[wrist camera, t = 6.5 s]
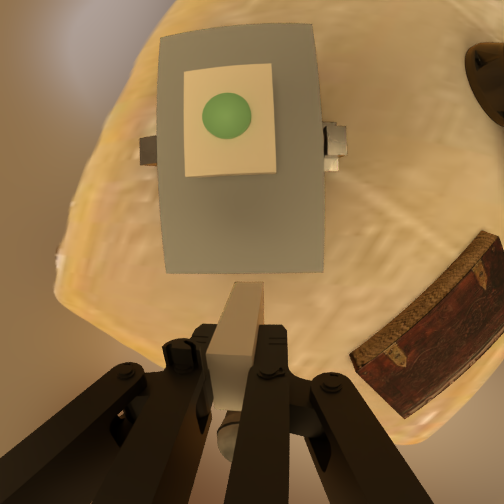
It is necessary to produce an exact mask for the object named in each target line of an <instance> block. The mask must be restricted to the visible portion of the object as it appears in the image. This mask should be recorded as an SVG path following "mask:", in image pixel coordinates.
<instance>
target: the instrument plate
mask: <svg viewBox="0 0 504 504" xmlns="http://www.w3.org/2000/svg"><path fill="white" fill-rule="evenodd" d="M323 146H324V135H323V128H322V112H321V99H320V87H319V76H318V67H317V58H316V49H315V41H314V34H313V27H312V24H302V23H265V24H246V25H234V26H224V27H216V28H209V29H202V30H196V31H190V32H185V33H180V34H175V35H170V36H166V37H161V38H160V48H159V62H158V81H157V170H158V191H159V206H160V219H161V231H162V241H163V251H164V260H165V269H166V273H171V274H258V273H323V270H324V237H325V181H324V148H323Z"/></svg>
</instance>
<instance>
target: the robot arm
mask: <svg viewBox="0 0 504 504" xmlns="http://www.w3.org/2000/svg"><path fill="white" fill-rule="evenodd" d="M465 65H466V72H467V76H468V80H469V83H470V85H471V88H472V90H473V92H474V94H475V96H476V98H477V100H478V102H479V103H480V105H481V106H482V108H483V109H484V111H485V112H486V113H487V114H488V115H489V116H490V118H491V119H493V120H494V121H495V122H496V123H497V124H499V125H501V126H503V127H504V43H493V42H484V43H479V44H477V45H475V46H473V47H471V48H470V49H469V50H468V52H467V54H466V59H465ZM162 349H163V354H164V358H165V362H166V368H165V369H164V371H160V372H151V373H145V372H144V369H143V368H142V366H141V365H139V364H137V363H133V362H126V363H122V364H119V365H117V366H115V367H113V368H112V369H111V370H110V371H108V372H107V373H106V374H105V375H103V376H102V377H101V378H100V379H98V380H97V381H96V382H95V383H93V384H92V385H91V386H90V387H88V388H87V389H86V390H85V391H84V392H82V393H81V394H80V395H79V396H77V397H76V398H75V399H74V400H72V401H71V402H70V403H69V404H67V405H66V406H65V407H64V408H62V409H61V410H60V411H59V412H58V413H56V414H55V415H54V416H52V417H51V418H50V419H49V420H47V421H46V422H45V423H44V424H43V425H41V426H40V427H39V428H37V429H36V430H35V431H34V432H33V433H31V434H30V435H29V436H28V437H26V438H25V439H24V440H22V441H21V442H20V443H19V444H17V445H16V446H15V447H14V448H12V449H11V450H10V451H9V452H7V453H6V454H5V455H4V456H2V457H1V458H0V504H90V503H91V502H92V501H93V502H92V504H188V501H189V498H190V494H191V490H192V487H193V484H194V480H195V477H196V473H197V470H198V466H199V463H200V459H201V456H202V452H203V448H204V445H205V442H206V438H207V434H208V431H209V427H210V423H211V420H212V414H211V406H212V402H214V408H215V409H219V410H232V411H241V416H240V421H239V427H238V432H237V438H236V443H235V448H234V454H233V459H232V464H231V469H230V474H229V480H228V485H227V490H226V495H225V500H224V504H288V498H289V497H288V496H289V440H290V439H289V438H290V437H289V436H290V433H292V434H296V435H300V436H304V439H305V442H306V444H307V447H308V449H309V452H310V454H311V457H312V460H313V462H314V465H315V467H316V470H317V472H318V475H319V477H320V479H321V482H322V484H323V487H324V490H325V492H326V495H327V497H328V499H329V502H330V504H434V503H433V502H432V500H431V498H430V497H429V495H428V494H427V492H426V491H425V489H424V488H423V486H422V485H421V483H420V482H419V480H418V479H417V477H416V476H415V474H414V473H413V471H412V470H411V468H410V467H409V465H408V464H407V462H406V461H405V460H404V458H403V457H402V455H401V454H400V452H399V451H398V449H397V448H396V446H395V445H394V443H393V442H392V440H391V439H390V437H389V436H388V434H387V433H386V431H385V430H384V428H383V427H382V425H381V424H380V423H379V421H378V420H377V418H376V417H375V415H374V414H373V412H372V411H371V409H370V408H369V406H368V405H367V403H366V402H365V401H364V399H363V398H362V396H361V395H360V393H359V392H358V390H357V389H356V387H355V386H354V384H353V383H352V382H351V380H350V379H349V378H348V377H346V376H344V375H342V374H340V373H334V372H328V373H322V374H320V375H317V376H316V377H315V378H314V379H313V380H312V381H310V380H305V379H302V378H299V377H297V376H295V375H294V374H292V373H291V372H290V370H289V368H288V347H287V330H286V329H285V328H284V326H283V325H264V291H263V282H235V283H234V286H233V288H232V291H231V293H230V295H229V298H228V300H227V303H226V305H225V308H224V310H223V312H222V315H221V317H220V320H219V322H218V324H202V325H200V326H199V327H198V328H196V329H195V331H194V333H193V334H192V337H191V338H190V339H187V338H179V339H174V340H171V341H169V342H167V343H165V344H164V345H163V346H162ZM122 410H123V412H124V414H123V415H121V416H120V417H118V414H119V413H120V412H121V411H122Z"/></svg>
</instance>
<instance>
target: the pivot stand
mask: <svg viewBox="0 0 504 504" xmlns="http://www.w3.org/2000/svg"><path fill="white" fill-rule="evenodd" d="M322 128H323V135H324V146H323V148H324V171H333V172H337V171H339V168H338V158H340V157H343V156H347V135H346V126H337V123H336V122H322ZM140 165H146V166H157V136H150V137H144V138H140Z"/></svg>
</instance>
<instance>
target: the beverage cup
mask: <svg viewBox="0 0 504 504" xmlns="http://www.w3.org/2000/svg"><path fill="white" fill-rule="evenodd" d="M240 416H241V411H232V410H227V413H226V416H225V419H224V420H223V422H222V424H221V426H220V427H219V429H218V431H217V443H218V448H219V450H220V452H221V453H222V455H223V456H224V457H225V458H226V459H227V460H229V461H230V462H232V459H233V454H234V448H235V443H236V438H237V432H238V427H239V421H240Z"/></svg>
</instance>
